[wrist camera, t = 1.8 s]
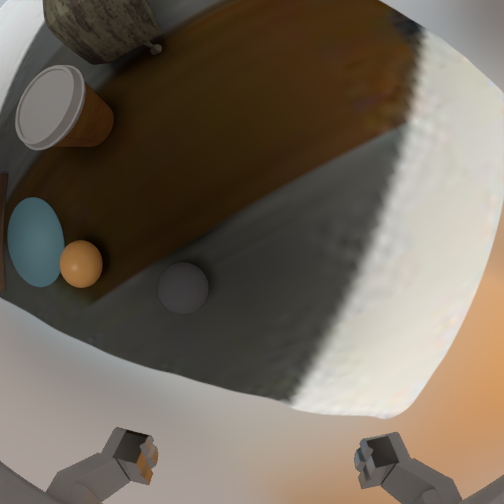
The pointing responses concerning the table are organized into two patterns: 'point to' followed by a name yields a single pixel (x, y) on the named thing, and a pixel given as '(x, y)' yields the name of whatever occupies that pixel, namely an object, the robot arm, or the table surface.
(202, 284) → the dark gray ball
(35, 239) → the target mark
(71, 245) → the orange ball
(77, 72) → the disposable coffee cup
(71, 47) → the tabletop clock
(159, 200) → the table surface
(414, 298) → the table surface
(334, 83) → the table surface
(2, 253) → the stopper wall
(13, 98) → the table surface
